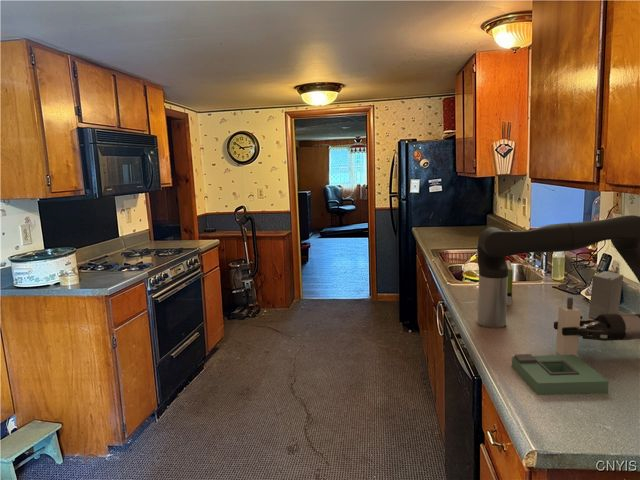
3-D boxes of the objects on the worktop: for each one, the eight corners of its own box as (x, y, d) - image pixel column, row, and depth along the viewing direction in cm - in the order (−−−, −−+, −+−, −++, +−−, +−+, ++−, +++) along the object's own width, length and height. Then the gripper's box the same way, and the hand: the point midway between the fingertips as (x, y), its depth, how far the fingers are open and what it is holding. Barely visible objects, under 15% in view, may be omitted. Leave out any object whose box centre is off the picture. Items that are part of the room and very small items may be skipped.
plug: (555, 351, 132) (559, 296, 129) (569, 351, 132) (573, 295, 129) (563, 357, 128) (567, 300, 125) (577, 357, 128) (581, 300, 125)
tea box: (484, 293, 189) (485, 258, 187) (509, 294, 186) (511, 260, 183) (484, 304, 176) (485, 267, 173) (512, 306, 172) (513, 268, 170)
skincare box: (599, 312, 162) (602, 270, 159) (620, 318, 156) (624, 274, 153) (586, 317, 158) (590, 274, 155) (608, 323, 152) (612, 278, 149)
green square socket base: (511, 366, 123) (512, 353, 123) (573, 364, 123) (574, 351, 123) (537, 394, 109) (538, 380, 108) (607, 392, 109) (609, 378, 108)
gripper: (604, 306, 134) (546, 307, 135) (637, 323, 120) (572, 325, 121) (602, 329, 136) (545, 331, 136) (634, 349, 122) (571, 351, 122)
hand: (558, 328), depth 128 cm, fingers closed on plug, 4 cm apart
